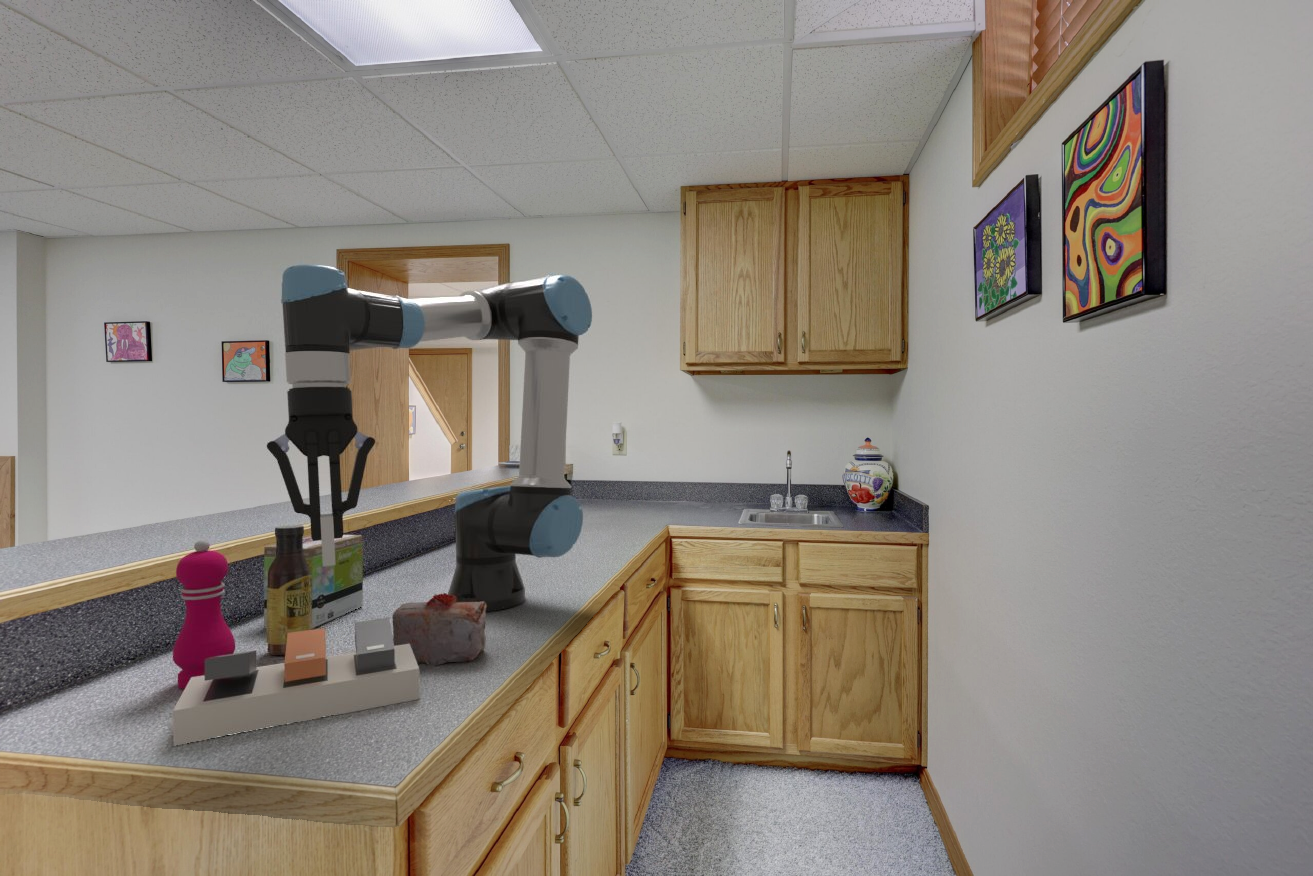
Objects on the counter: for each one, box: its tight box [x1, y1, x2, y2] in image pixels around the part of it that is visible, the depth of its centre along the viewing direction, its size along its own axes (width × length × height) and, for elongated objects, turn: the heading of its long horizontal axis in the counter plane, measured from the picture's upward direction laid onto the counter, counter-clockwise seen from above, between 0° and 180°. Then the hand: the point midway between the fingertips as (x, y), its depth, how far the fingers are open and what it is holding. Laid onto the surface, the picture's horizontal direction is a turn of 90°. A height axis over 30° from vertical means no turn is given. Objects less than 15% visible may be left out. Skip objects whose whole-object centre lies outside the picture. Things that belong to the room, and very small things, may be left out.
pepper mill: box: [172, 539, 236, 691], centre depth 91 cm, size 7×7×20 cm
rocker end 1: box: [205, 650, 257, 681], centre depth 79 cm, size 4×8×2 cm, turn 27°
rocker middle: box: [283, 627, 327, 682], centre depth 83 cm, size 4×8×2 cm, turn 27°
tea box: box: [263, 534, 364, 630], centre depth 121 cm, size 15×10×15 cm, turn 171°
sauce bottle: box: [266, 524, 313, 656], centre depth 103 cm, size 7×6×20 cm
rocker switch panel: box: [172, 644, 421, 747], centre depth 83 cm, size 26×11×4 cm, turn 117°
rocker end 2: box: [354, 617, 395, 671], centre depth 86 cm, size 4×8×2 cm, turn 27°
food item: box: [391, 592, 487, 667], centre depth 99 cm, size 14×8×10 cm, turn 94°
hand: (329, 563), depth 86 cm, fingers closed
